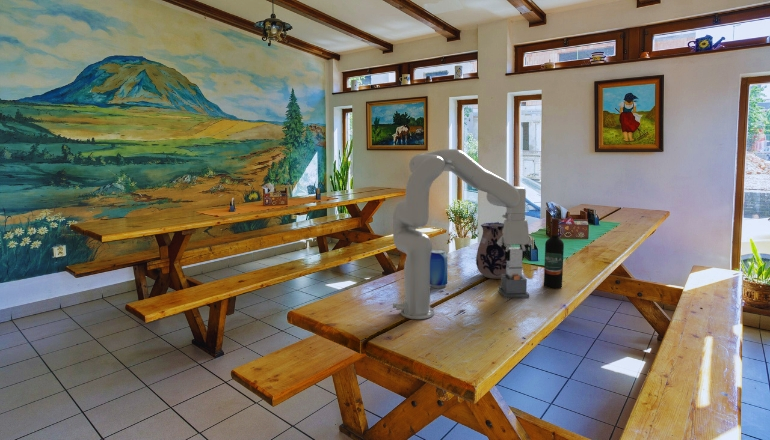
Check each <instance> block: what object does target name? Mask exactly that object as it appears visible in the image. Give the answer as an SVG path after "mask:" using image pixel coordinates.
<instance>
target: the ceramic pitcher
mask: <svg viewBox="0 0 770 440" xmlns="http://www.w3.org/2000/svg"><path fill="white" fill-rule="evenodd" d="M503 224H504V222H503V223H501V222H499V221H496V222H495V221H494V222H484V223H482V224H480V226H481V229H482V236H481V238H480V242H479V245H478V248H477V251H476V257H475V264H476V268H477V271H479V273H480V274H481V275H482V276H483V277H485V278H488V279H492V280H493V279H495V280H499V279H501V275H502V274H506V264H507V260H506V259H505V250H504V249H503V248H502V247H501V246H499V245H498V244H497V241H498V240H499V239H500V238H501V236H502V229H503ZM502 244H503V245H504V246H505V243H503V242H502ZM510 247H512V245H510Z"/></svg>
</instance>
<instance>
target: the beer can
mask: <svg viewBox="0 0 770 440" xmlns="http://www.w3.org/2000/svg"><path fill="white" fill-rule="evenodd" d="M447 285H448V255H447V253H446V250H444V249H437V248H436V249H435V248H434V249H432V251H431V257H430V287H432V288H435V289H441V288H445V287H446V286H447Z"/></svg>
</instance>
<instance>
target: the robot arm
mask: <svg viewBox="0 0 770 440" xmlns="http://www.w3.org/2000/svg"><path fill="white" fill-rule="evenodd" d="M408 168H409V171H410V172H411V175H410V176H409V177H408V179H407V182H406V187H405V198H404V199H402V200H401V201H399V202H398V203H397V204H396V205H395V207H394V210H393V213H392V215H393V216H392V219H393V220H392V221H393V222H392V225H393V226H392V228H393V229H392V230H393V231H392V234H393V235H392V237H393V244H394V246H395V248H396V249H397V250H398V251H400V252H402V253H403V254H406V258H405V262H404V266H403V277H404V278H403V279H404V280H403V281H404V282H403V284H404V285H403V286H404V299H403V301H401V302H399V303H398V302H392V309H395V310H396V311H400V314H401V316H402V317H403V318H407V319H409V320H410V319H411V320H426V319H429V318H432V317H433V316H434V315H435V310H434V308H433V307H431V288H430V287H431V286H430V257H431V251H432V250H433V242H432V240H431V238H430V236H428V235H427V234H425V233H424V232H422V231H420V230H416V229H421V228H424V227H425V226H426V225H427V224H428V222H429V217H430V214H429V213H430V212H429V211H430V210H429V208H430V191H431V187H432V184H433V183H434V181H435V180H436V179H437V178H439V177H440V176H441V175H442V174H443V172H450V173H453V175H455V176H457V177H458V178H459V179H460V180H462V181H463V182H464V183H465V184H467V185H468V186H469V187H471V188H473V189H475V190H478V191H481V192H484V193H486V200H487V202H488V203H489V204H491V205H493V206H496V207H505V213H504V214H501V215H502V216H501V217H502V218H503V219H504V221H503V229H502V236H501V238H500V239H499V240H498V241H497V244H498V245H499V246H501V247H502V248H503V249H504V250H505V259H506V260H507V261H509V253H510V252H509V247H510V245H511V246H519V248H521V249H522V262H523V261H524V258H525V252H526V251H527V249H528V248H529V247H530V246H531V245H532V244H533V243H534V242H533V240H532V239H531V237H529V236H530V235H529V224H528V220H527V219H526V199H527V198H526V195H527V193H526V192H527V191H526V188H525V187H523V186H517V185H516V186H514V185H512V184H510V183H509V182H508V181H507V180H505V179H504V178H502V177H500V176H499V175H496V174H495V173H493V172H492V171H489V170H488V169H485V168H484V167H483V166H482V165H480V164H479V163H478V162H477V161H475V160H474V159H473V158H472V157H471V156H469V155H468V154H467V153H466V152H464V151H463V150H461V149H456V148H454V149H453V148H451V149H450V148H449V149H448V148H446V149H445V148H444V149H440V150H435V151H428V152H423V153H418V154H416V155H413V157H411V159H410V161H409V163H408ZM502 242H503V243H505V246H504V245H503V244H502Z"/></svg>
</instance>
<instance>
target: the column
mask: <svg viewBox="0 0 770 440" xmlns="http://www.w3.org/2000/svg"><path fill="white" fill-rule="evenodd" d="M509 252H510V253H509V261H507V264H506V277H507V278H508V279H513V276H515V275H519V276H520V279H522V275H523V261H522V249H521V248H520V246H511V247H509Z"/></svg>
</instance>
